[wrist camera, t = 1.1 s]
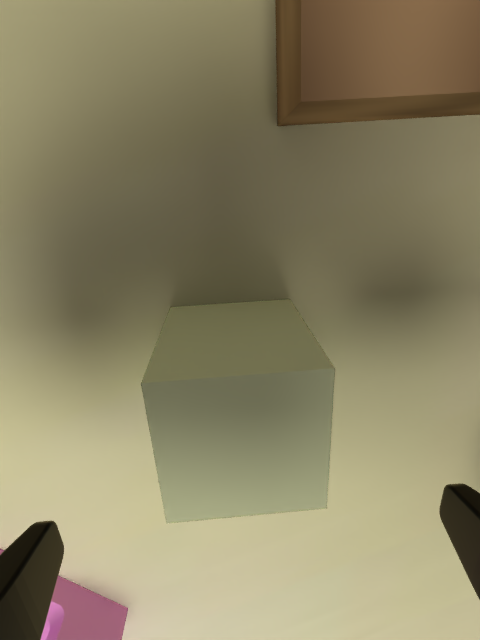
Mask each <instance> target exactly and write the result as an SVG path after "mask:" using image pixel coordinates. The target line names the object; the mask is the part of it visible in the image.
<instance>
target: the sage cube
mask: <svg viewBox="0 0 480 640" xmlns="http://www.w3.org/2000/svg"><path fill="white" fill-rule="evenodd" d="M334 376H335V368H334V366H333V365H332V363H331V361H330V360H329V358H328V357H327V355H326V354H325V352H324V351H323V349H322V348H321V346H320V345H319V343H318V342H317V340H316V339H315V337H314V336H313V334H312V333H311V331H310V329H309V328H308V326H307V325H306V323H305V322H304V320H303V319H302V317H301V316H300V314H299V313H298V311H297V310H296V308H295V307H294V305H293V304H292V302H291V301H290V299H281V300H266V301H252V302H237V303H222V304H208V305H193V306H179V307H170V310H169V312H168V315H167V318H166V320H165V323H164V325H163V328H162V330H161V333H160V336H159V338H158V341H157V343H156V346H155V348H154V351H153V354H152V356H151V359H150V361H149V364H148V366H147V369H146V372H145V374H144V377H143V379H142V382H141V386H142V392H143V397H144V403H145V408H146V414H147V419H148V425H149V430H150V436H151V441H152V447H153V452H154V458H155V463H156V469H157V474H158V480H159V485H160V491H161V496H162V502H163V507H164V513H165V518H166V524H167V523H178V522H188V521H199V520H209V519H220V518H231V517H241V516H252V515H262V514H273V513H284V512H294V511H305V510H315V509H326V508H327V498H328V480H329V463H330V445H331V428H332V411H333V393H334Z"/></svg>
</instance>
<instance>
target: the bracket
mask: <svg viewBox="0 0 480 640" xmlns="http://www.w3.org/2000/svg"><path fill="white" fill-rule="evenodd" d="M2 552H4V550H2V549H0V554H1V553H2ZM127 611H128V608H127V607H124V606H122V605H120V604H118V603H116V602H114V601H111V600H109V599H107V598H105V597H103V596H101V595H99V594H96V593H94V592H92V591H90V590H88V589H86V588H83V587H81V586H79V585H77V584H75V583H73V582H71V581H68V580H66V579H64V578H62V577H60V576H58V578H57V581H56V585H55V589H54V593H53V596H52V600H51V604H50V607H49V611H48V615H47V619H46V622H45V626H44V629H43V633H42V636H41V640H122V635H123V630H124V625H125V621H126V616H127Z"/></svg>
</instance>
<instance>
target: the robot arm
mask: <svg viewBox="0 0 480 640" xmlns="http://www.w3.org/2000/svg"><path fill="white" fill-rule="evenodd" d="M440 517H441V520H442V523H443V525H444V527H445V529H446V531H447V533H448V535H449V537H450V540H451V542H452V544H453V546H454V548H455V550H456V552H457V554H458V556H459V559H460V561H461V563H462V565H463V567H464V569H465V571H466V573H467V575H468V578H469V580H470V582H471V584H472V586H473V588H474V590H475V592H476V594H477V596H478V597H479V599H480V493H479V492H477V491H475V490H474V489H472V488H471V487H469V486H467V485H465V484H449V485H446V486H445V488H444V491H443V496H442V500H441V505H440ZM63 554H64V545H63V542H62V539H61V536H60V533H59V530H58V527H57V525H56V523H55V522H54V521H43V522H36V523H34V524H33V525H31V526H30V527H29V528H28V529H27V530H26V531H25V532H24V533H23V534H22V535H21V536H19V537H18V538H17V539H16V540H15V541H14V542H13V543H12V544H11V545H10V546H9V547H8V548H7V549H6V550H5V551H4V552H2V553H1V554H0V640H41V636H42V633H43V629H44V626H45V622H46V619H47V615H48V611H49V607H50V604H51V600H52V596H53V593H54V589H55V585H56V581H57V578H58V574H59V570H60V567H61V563H62V559H63Z"/></svg>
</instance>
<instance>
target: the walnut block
mask: <svg viewBox="0 0 480 640" xmlns="http://www.w3.org/2000/svg"><path fill="white" fill-rule="evenodd" d="M275 5H276V63H277V120H278V126H287V125H304V124H322V123H339V122H356V121H373V120H391V119H408V118H425V117H442V116H460V115H477V114H480V0H275Z"/></svg>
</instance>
